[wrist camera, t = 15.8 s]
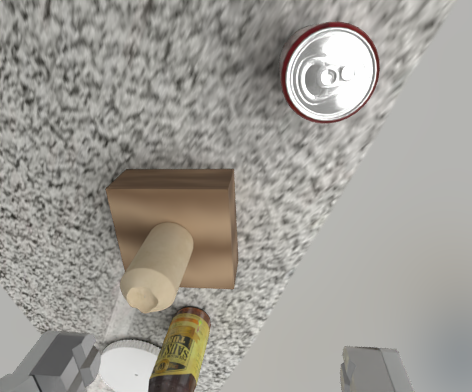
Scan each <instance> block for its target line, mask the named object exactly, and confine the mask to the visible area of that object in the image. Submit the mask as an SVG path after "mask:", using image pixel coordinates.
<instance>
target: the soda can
mask: <svg viewBox="0 0 472 392" xmlns="http://www.w3.org/2000/svg"><path fill="white" fill-rule="evenodd" d="M379 71H380V64H379V56H378V53H377V49H376V47H375V45H374V43H373V41H372V40H371V39H370V38H369V36H368V35H367V34H366V33H365V32H364V31H362V30H361V29H359V28H358V27H356V26H354V25H351V24H349V23H344V22H326V23H320V24H315V25H310V26H306V27H304V28H302V29H300V30H298V31H297V32H295V33H294V34H293V35H292V36H291V37H290V38H289V39H288V40H287V42H286V43H285V45H284V46H283V49H282V51H281V54H280V58H279V73H280V80H281V86H282V92H283V94H284V97H285V99H286V101H287V103H288V104H289V106H290V107H291V108H292V109H293V110H294V111H295V113H296V114H298V115H299V116H301V117H302V118H304V119H306V120H309V121H311V122H316V123H334V122H339V121H342V120H344V119H347V118H349V117H350V116H352V115H354V114H355V113H357V112H358V111H359V110H360V109H361V108H362V107H363V106H364V105H365V104H366V103H367V101H368V100H369V99H370V97H371V96H372V94H373V92H374V90H375V88H376V85H377V82H378V78H379Z"/></svg>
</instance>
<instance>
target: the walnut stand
mask: <svg viewBox="0 0 472 392" xmlns="http://www.w3.org/2000/svg"><path fill="white" fill-rule="evenodd" d="M106 193H107V198H108V202H109V206H110V210H111V214H112V219H113V223H114V227H115V231H116V236H117V240H118V244H119V248H120V252H121V257H122V261H123V265H124V269H125V272H126V270H127V268H128V267H129V265H130V264H131V262H132V260H133V259H134V257H135V256H136V254H137V252H138V251H139V249H140V247H141V246H142V244H143V243H144V241H145V239H146V238H147V236H148V235H149V233H150V232H151V230H152V229H153V228H154V227H155V226H157V225H158V224H161V223H165V222H172V223H176V224H179V225H181V226H183V227H184V228H185V229H187V230H188V231H189V233H190V234H191V236H192V238H193V243H194V244H193V251H192V254H191V256H190V259H189V262H188V264H187V267H186V270H185V273H184V275H183V278H182V281H181V283H180V286H179V287H189V288H215V289H234V285H235V278H236V272H237V265H238V244H237V223H236V203H235V182H234V169H126V170H125V171H124V172H123V173H122V174H121V175H120V176H119V177H118V178H117V179H115V180H114V181H113V182H112V183H111V184H110V185H109V186H108V187H107V188H106Z"/></svg>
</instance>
